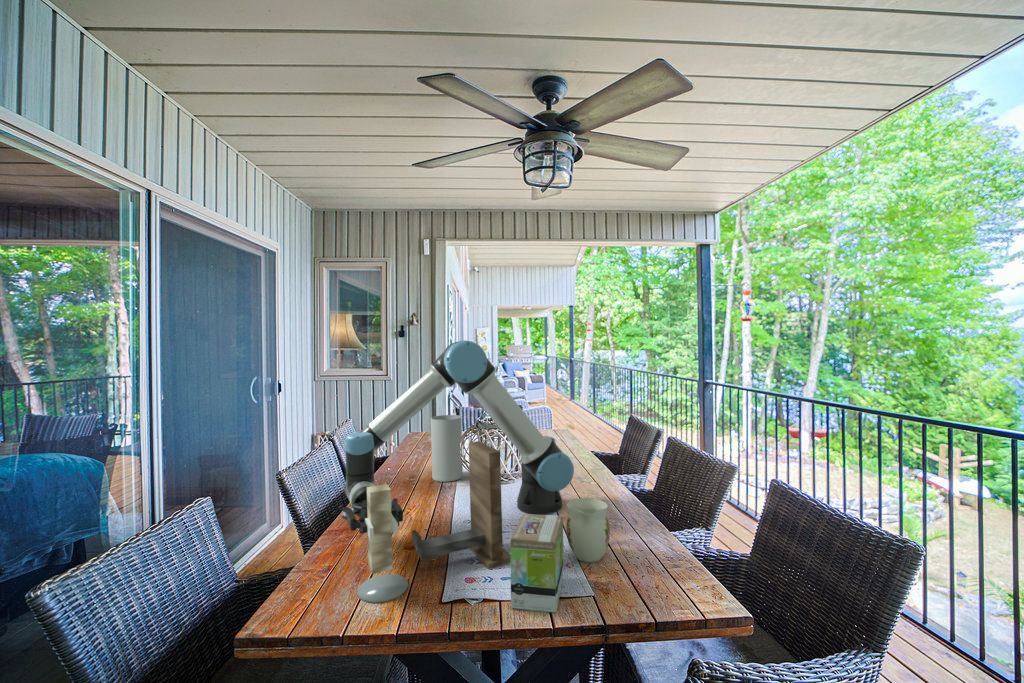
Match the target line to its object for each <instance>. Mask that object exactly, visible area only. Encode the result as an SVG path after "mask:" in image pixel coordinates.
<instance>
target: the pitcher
mask: <svg viewBox="0 0 1024 683" xmlns="http://www.w3.org/2000/svg"><path fill="white" fill-rule="evenodd" d="M608 505H609V504H608V503H606V502H605V501H604V500H601V499H596V498H589V497H587V498H586V497H585V498H584V497H583V498H582V497H581V498H575V499H572V500H569V501H568V502H567V504H566V507H567V512H568V516H567V520H566V527H565V528H566V529H565V530H566V537H567V542H568V545H569V548H570V550H571V552H572V554H573V555H574V556H575V558H576V559H577V560H579V561H582V562H585V563H596V562H599V561H601V560H602V558H603V557H604V555H605V554H606V552H607V550H608V547H609V543H610V537H611V536H610V534H611V530H610V527H611V526H610V522H609V519H608V516H607V513H608V508H609V506H608Z"/></svg>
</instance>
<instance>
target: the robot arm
mask: <svg viewBox="0 0 1024 683" xmlns="http://www.w3.org/2000/svg"><path fill="white" fill-rule="evenodd" d="M485 352H486V351H484V348H482V347H481V346H480V344H478V343H476V342H473V341H470V340H459V341H455V342H453V343H450V344H449V345H448V346H447V347H446V348H445V349H444V351H442V353H440V355H439V356H438V357H437V358H436V359H435V360H434V361H433V362H432V363H431V364H430V368H429V370H428V371H426V373H425V374H424V375H422V376H421V377H420V378H419V379H417V381H416V382H414V383H413V384H412V385H411V386H410V387H409V388H407V390H406V391H405V392H403V393H402V394H401V395H399V396H398V397H397V398H396V399H395V400H394V401H393V402H392V403H391V404H390V405H389V406H388V407H386V408H385V409H384V410H383V411H382V412H380V414H379V415H378V416H377V417H375V418H374V419H373V420H372V421H371V422H369V424H367V425H366V426H365V427H363V428H362V430H360V431H358V432H354V433H353V432H352V433H349V434H348V435H346V438H345V444H344V450H345V469H346V471H345V483H344V492H345V495H346V497H347V499H348V501H349V504H350V507H349V506H343V507H342V519H344V520H346V522H347V524H348V528H349V530H350V531H351V532H354V531H356V530H357V529H358V532H359V534H366V535H367V539H368V538H369V540H370V541H373V540H374V531H373V526H372V524H371V522H370V520H369V518H367V487H371V486H376V485H375V453H376V451H377V450H379V449H380V447H382V446H383V445H384V444H385V443H386V442H387V441H388V440H389V439H391V437H392V436H393V435H394V434H395V433H397V432H398V431H399V430H400V429H401V428H403V427H404V426H405V425H406V423H408V422H409V421H410V420H411V419H413V418H414V417H415V416H416V415H417V414H418V413H420V412H421V410H422V409H424V408H425V407H426V406H427V405H428V404H429V403H431V401H433V399H435V398H436V397H437V396H438V395H439V394H440V393H441V392H442V391H443V390H444V389H446V388H452V387H453V386H454V385H455V384H457V385H458V387H459V388H460V389H461V390H462V392H463V393H464V394H467V395H472V396H474V397H473V398H475V399H476V400H477V402H478V403H479V404H480V406H481V407H482V408H483V410H485V412H486V413H487V414H488V415H489V416H490V418H491V419H492V420H493V421H494V422H495V424H496V425H497V426H498V427H499V429H500V430H501V432H503V434H504V435H505V436H506V438H508V440H509V441H510V442H511V443H512V445H513V446H514V447H515V449H516V450H518V452H519V453H520V462H521V466H520V467H521V486H520V488H519V492H518V496H517V498H516V499H517V500H516V501H517V502H516V506H517V508H518V510H519V511H521V512H523V513H525V514H535V515H548V514H552V513H555V512H558V511H560V510H561V509H562V508H563V498H562V494H561V493H560V491H562V490H564V489H566V488H567V486H569V484H570V483H572V480H573V477H574V473H575V467H574V463H573V461H572V459H571V458H570V457H569V455H567V454H566V453H564V452H563V451H562V450H561V449H560V447H559V446H558V445H557V442H556V439H555V438H554V437H552V436H547V435H546V436H545V435H543V434H542V433H541V431H540V430H539V429H538V427H537V426H536V425H535V423H533V421H532V420H531V419H530V418H529V416H528V415H527V414H526V413H525V412H524V410H523V409H522V408H521V407H520V406H519V404H518V403H517V401H516V400H514V399H515V398H513V396H511V394H510V393H509V392H508V390H507V389H506V388H505V387H504V385H503V384H502V383H501V382H500V381H499V379H498V378H497V376H496V370H497V369H496V367H495V366H494V364H492V362H491V360H490V359H488V357H487V354H486V353H485ZM398 501H399V500H398V498H393V499H391V527H392V534H393V536H394V537H396V536H399V527H400V523H401V522H403V521H404V510H403V508H402V507H401V506H400V504H399V502H398ZM355 515H356V516H357V517H358V519H357V518H356V516H355Z"/></svg>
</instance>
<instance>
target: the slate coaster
mask: <svg viewBox="0 0 1024 683" xmlns="http://www.w3.org/2000/svg"><path fill="white" fill-rule="evenodd" d="M408 583H409V582H408V580H407V578H406V577H404V576H402V575H399V574H392V573H388V574H381V575H377V576H373V577H370V578H369V579H366V580H365V581H363V582H362V583H361V584H360V585H359V586H358V588H357V597H358V598H359V600H361V601H363V602H366V603H371V604H379V603H385V602H390V601H392V600H396V599H398V598H399V597H401V596H402V595H403V594H405V592H406V591H407V590H408V586H409V584H408Z"/></svg>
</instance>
